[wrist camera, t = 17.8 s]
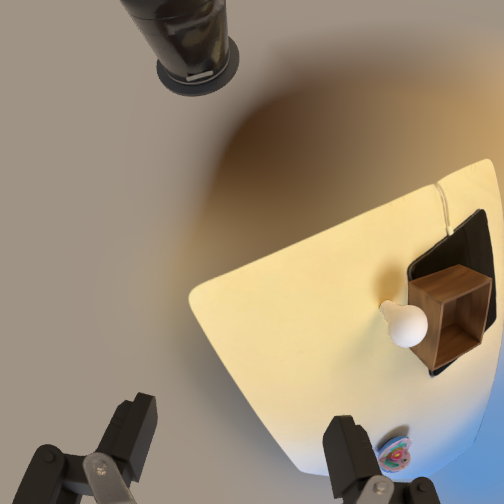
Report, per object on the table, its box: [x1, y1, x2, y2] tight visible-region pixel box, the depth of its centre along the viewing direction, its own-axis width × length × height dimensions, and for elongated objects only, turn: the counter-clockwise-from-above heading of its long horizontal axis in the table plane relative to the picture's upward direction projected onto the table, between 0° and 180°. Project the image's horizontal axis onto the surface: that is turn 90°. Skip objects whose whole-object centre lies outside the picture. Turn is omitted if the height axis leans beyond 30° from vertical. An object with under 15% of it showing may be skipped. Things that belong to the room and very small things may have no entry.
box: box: [408, 264, 492, 371], centre depth 37 cm, size 13×13×10 cm
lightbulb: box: [380, 300, 428, 348], centre depth 35 cm, size 6×6×11 cm
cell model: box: [378, 436, 412, 473], centre depth 46 cm, size 10×12×10 cm
